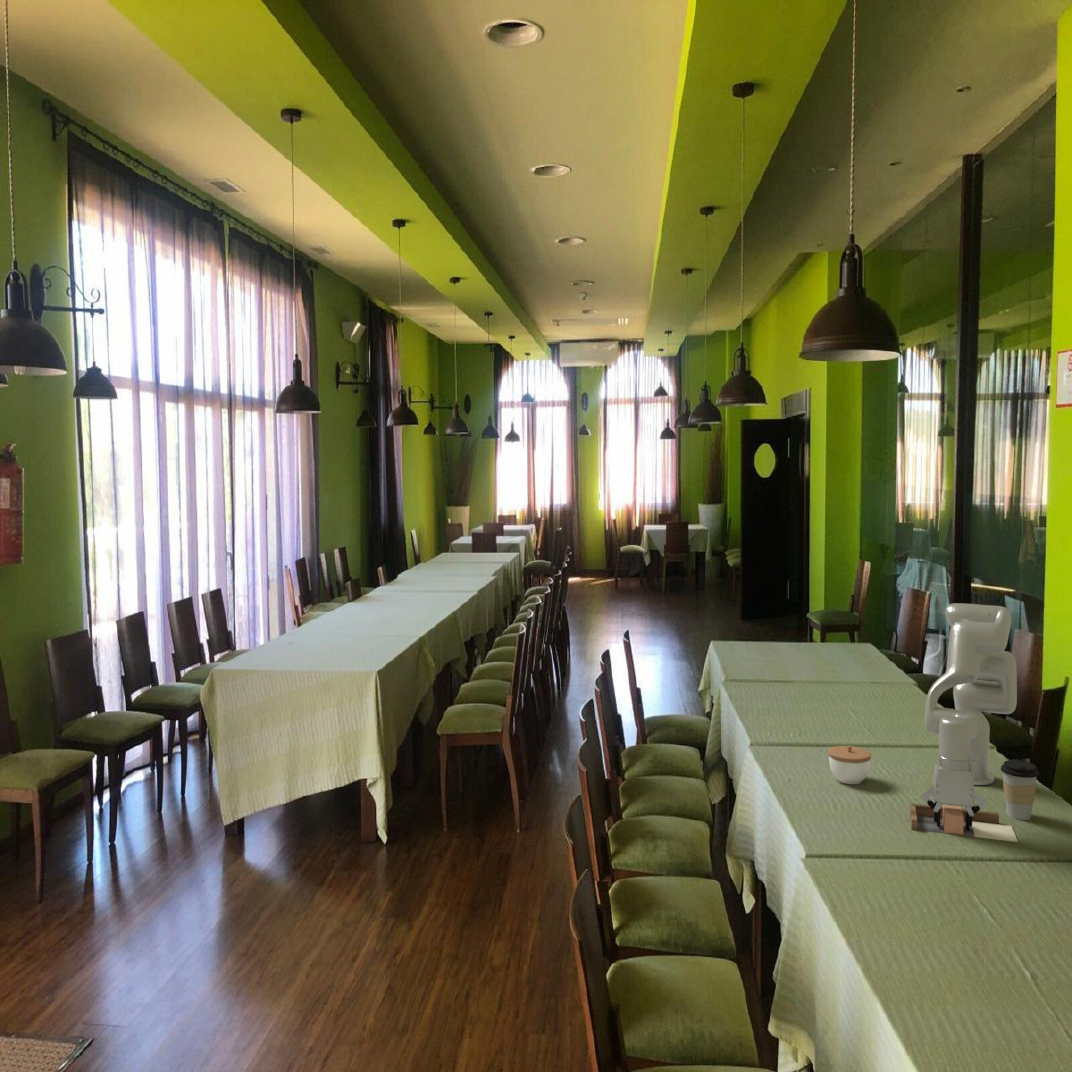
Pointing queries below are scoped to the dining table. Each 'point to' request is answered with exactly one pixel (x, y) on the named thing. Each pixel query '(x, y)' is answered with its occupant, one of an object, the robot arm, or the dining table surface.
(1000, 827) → the pad
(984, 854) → the dining table surface
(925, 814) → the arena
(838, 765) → the lidded bowl
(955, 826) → the block
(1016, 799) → the coffee cup
